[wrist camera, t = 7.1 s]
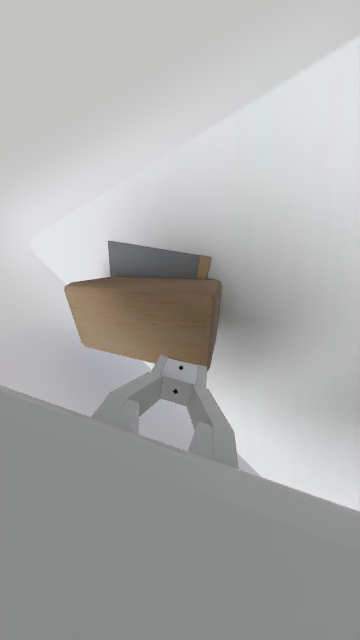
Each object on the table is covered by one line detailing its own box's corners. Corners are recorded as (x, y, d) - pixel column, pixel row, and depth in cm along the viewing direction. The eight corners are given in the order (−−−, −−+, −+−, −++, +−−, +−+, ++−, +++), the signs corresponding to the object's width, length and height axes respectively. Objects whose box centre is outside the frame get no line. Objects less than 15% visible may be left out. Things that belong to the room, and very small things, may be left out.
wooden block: (222, 279, 21) (114, 275, 27) (216, 293, 12) (57, 283, 18) (216, 337, 25) (123, 323, 31) (207, 380, 16) (80, 348, 22)
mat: (211, 257, 22) (210, 257, 20) (195, 328, 28) (194, 333, 26) (109, 241, 25) (101, 239, 23) (114, 309, 30) (108, 312, 28)
